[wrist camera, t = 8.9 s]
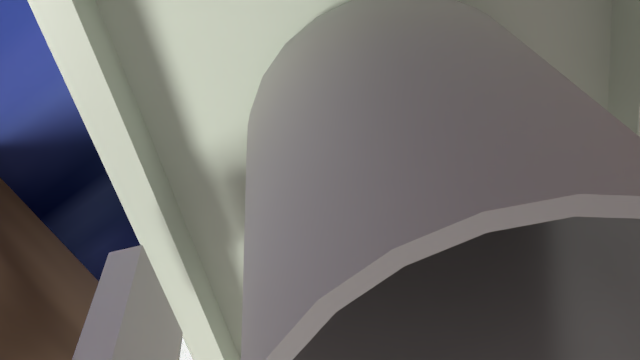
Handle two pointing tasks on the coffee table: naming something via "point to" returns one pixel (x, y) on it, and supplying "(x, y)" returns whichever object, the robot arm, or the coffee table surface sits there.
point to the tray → (234, 110)
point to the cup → (435, 197)
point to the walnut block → (38, 287)
